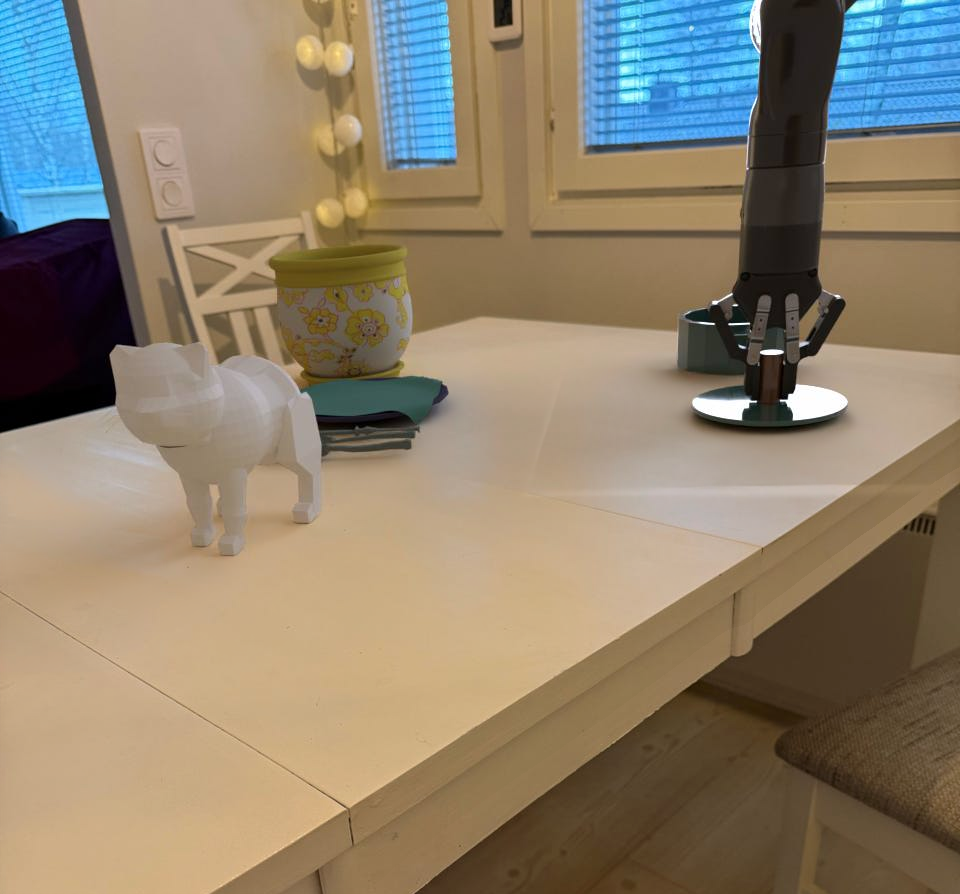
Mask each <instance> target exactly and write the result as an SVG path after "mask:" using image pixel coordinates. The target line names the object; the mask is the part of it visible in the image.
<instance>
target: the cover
mask: <svg viewBox="0 0 960 894" xmlns="http://www.w3.org/2000/svg"><path fill="white" fill-rule="evenodd" d="M783 361H784V352H783V351H780V350H765V351H761V352H760V358H759V364H760V380H759V396H758V401H751V400H750V398H749V396H746V394H745V391H744V388H743V384H739V385H731V386H725V387H719V388H715V389H711V390H708V391H706V392H703V393H701V394H698V395H697V396H696V397H694V398H693V399H692V402H691V409H692V412H694V413H695V414H696V415H697V416H699V417H701V418H704V419H707V420H709V421H712V422H713V421H714V422H718V423H723V424H729V425H736V426H743V427H744V426H745V427H753V428H754V427H756V428H780V427H781V428H783V427H791V426H792V427H793V426H799V425H808V424H813V423H820V422H824V421H827V420H831V419H834V418H837V417H838V416H840V415H842V414H844V413H845V412H846V411H847V410H848V406H849V405H848V404H849V400H848V399H847V397H845V396H844V395H843V394H841V393H839V392H836V391H834V390H832V389H827V388H823V387H819V386H813V385H804V384H796V389H795V392H794V394H789V398H788V400H780V399H781V385H782V372H783Z"/></svg>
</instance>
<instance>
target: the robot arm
mask: <svg viewBox="0 0 960 894" xmlns="http://www.w3.org/2000/svg"><path fill="white" fill-rule="evenodd" d="M856 2H858V0H754V3H753V5H752V8H751V11H750V17H749V32H750V33H749V34H750V38H751V41H752V44H753V45H754V47H755V49H756V51H757V52H758V53H759V61H758V74H757V75H758V77H757V94H756V97H755V101H754V103H753V105H752V108H751V111H750V116H749V121H748V122H749V123H748V132H747V148H746V149H747V151H746V169H745V176H744V177H745V178H744V183H743V187H742V188H743V189H742V195H741V196H742V197H741V207H740V211H739V218H740V229H739V230H740V231H739V251H738V267H737V269H738V270H737V278H736V281H735V284H734V285H733V286H732V289H731V293H730V294H728V295H726V296H724V297H722V298H721V299H719V300H712V301H710V302H709V303H708V304H707V307H708V310H709V313H710V315H711V318H712V320H713V322H714V324H715V326H716V328H717V330H718V332H719V335H720V337H721V339H722V341H723V343H724V345H725V347H726V350H727V352H728V354H729V356H730V358H732V359H737V360H740V361H742V362H744V364H745V367H744V375H743V384H742V385H743V388H744V391H745V394H746V396H749V398H750V400H751V401H758V396H759V380H760V364H759V362H758V361H759V358H760V352H761V347H762V342H763V340H764V335H765V330H767V329H770V328H774V327H777V328H782V332H783V341H784V361H783V372H782V385H781V399H780V400H788V398H789V394H794V392H795V389H796V385H797V377H798V367H799V364H800V362H801V361H802V360H804V359H806V358H808V357H810V358H811V357H815V356H817V355H818V353H819V352H820V350H821V349H822V347H823V346H824V344H825V342H826V340H827V338H828V337H829V335H830V333H831V331H832V330H833V328H834V327H835V325H836V323H837V322H838V320H839V318H840V317H841V314H842V313H843V311H844V309H846V306H847V304H846V300H845V299H844V297H842V296H840V295H839V294H833V293H831V292H828V291H826V290H824V289H823V286H822V282H821V280H820V277H819V265H820V264H819V263H820V254H821V253H820V251H821V241H822V232H823V231H822V230H823V219H824V218H823V217H824V209H825V208H824V207H825V196H826V183H825V182H826V179H825V178H826V177H825V167H826V166H825V163H826V153H827V142H828V129H829V106H830V100H831V95H832V90H833V86H834V82H835V78H836V73H837V68H838V64H839V59H840V52H841V47H842V42H843V36H844V28H845V19H846V13H847V12H848V11H849V10H850V9H852V7H853V6H854V5H855V4H856ZM817 301H818V305H817V307H816V311H817V313H818V314H819V316H818V317H817V318H816V321H815V322H814V325H812V328H811V330H810V331H809V333H808V335H807V336H806V338H805V340H804V341H803V342H800V338H801V337H800V322H801V321H802V320H803V318H804V317H805V316H806V314H807V313H808V312H809V311H810V310H811V308H812V307H813V305H814V304H815V303H816V302H817ZM733 305H738V307H739V308H740V310H741V311H742V313H743V314H744V316H745V317H746V319H747V320H748V322H749V323H750V324H749V330H748V339H747V344H746V347H744V346H741V345H738V343H737V341H736V339H735V337H734V334H733V332H732V330H731V328H730V326H729V324H728V320H730V319H731V318H732V316H733V312H732V307H733Z"/></svg>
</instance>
